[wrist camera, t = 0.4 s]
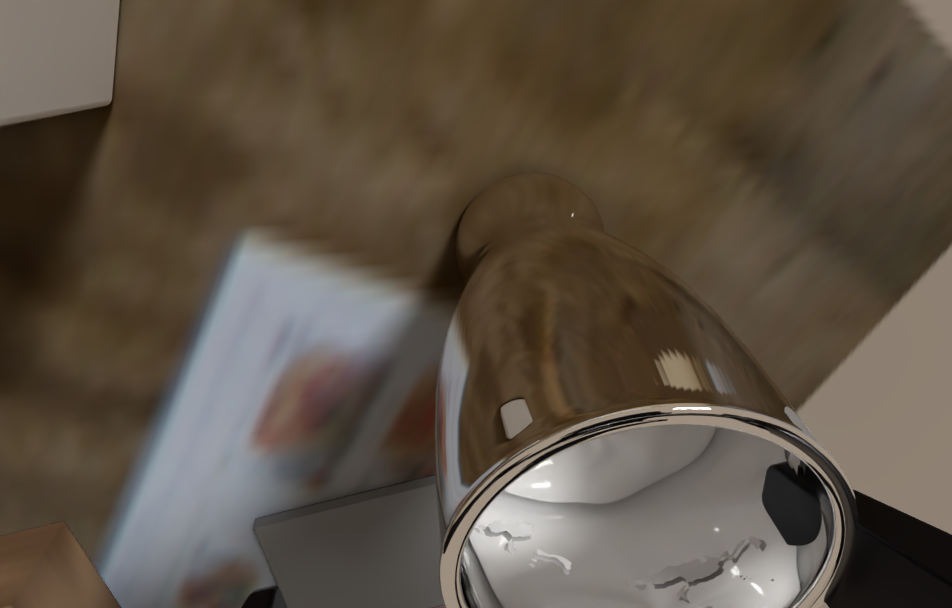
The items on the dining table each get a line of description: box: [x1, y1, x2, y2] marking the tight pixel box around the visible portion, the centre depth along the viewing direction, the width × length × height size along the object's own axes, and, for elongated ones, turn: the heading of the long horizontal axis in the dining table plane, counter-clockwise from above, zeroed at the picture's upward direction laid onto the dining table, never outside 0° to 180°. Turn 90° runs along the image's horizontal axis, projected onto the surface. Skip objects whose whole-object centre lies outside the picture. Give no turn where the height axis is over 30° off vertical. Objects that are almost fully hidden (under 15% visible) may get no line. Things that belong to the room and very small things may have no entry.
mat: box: [254, 475, 444, 608], centre depth 28 cm, size 9×9×1 cm
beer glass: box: [434, 172, 858, 608], centre depth 15 cm, size 7×7×15 cm
